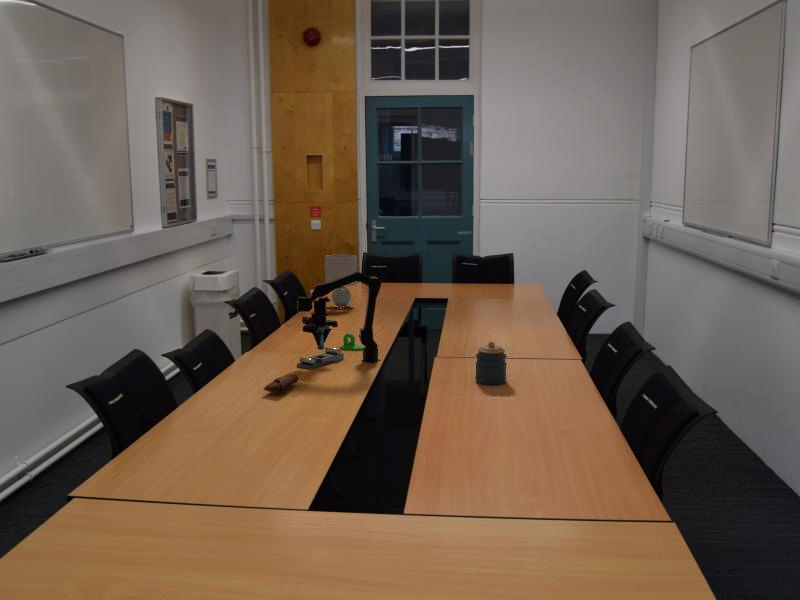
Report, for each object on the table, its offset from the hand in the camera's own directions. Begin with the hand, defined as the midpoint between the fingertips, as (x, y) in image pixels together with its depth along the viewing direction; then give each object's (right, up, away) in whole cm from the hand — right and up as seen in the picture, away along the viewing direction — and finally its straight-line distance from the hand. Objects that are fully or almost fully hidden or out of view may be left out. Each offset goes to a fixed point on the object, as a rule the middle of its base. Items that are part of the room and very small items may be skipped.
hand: (320, 344), depth 374 cm
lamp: (-1, +14, +147) cm, 148 cm away
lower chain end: (-2, -9, -2) cm, 10 cm away
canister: (+75, -14, -34) cm, 83 cm away
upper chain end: (+2, -8, +5) cm, 10 cm away
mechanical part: (+13, -5, +29) cm, 33 cm away
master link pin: (0, -2, 0) cm, 2 cm away
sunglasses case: (-14, -16, -42) cm, 47 cm away
